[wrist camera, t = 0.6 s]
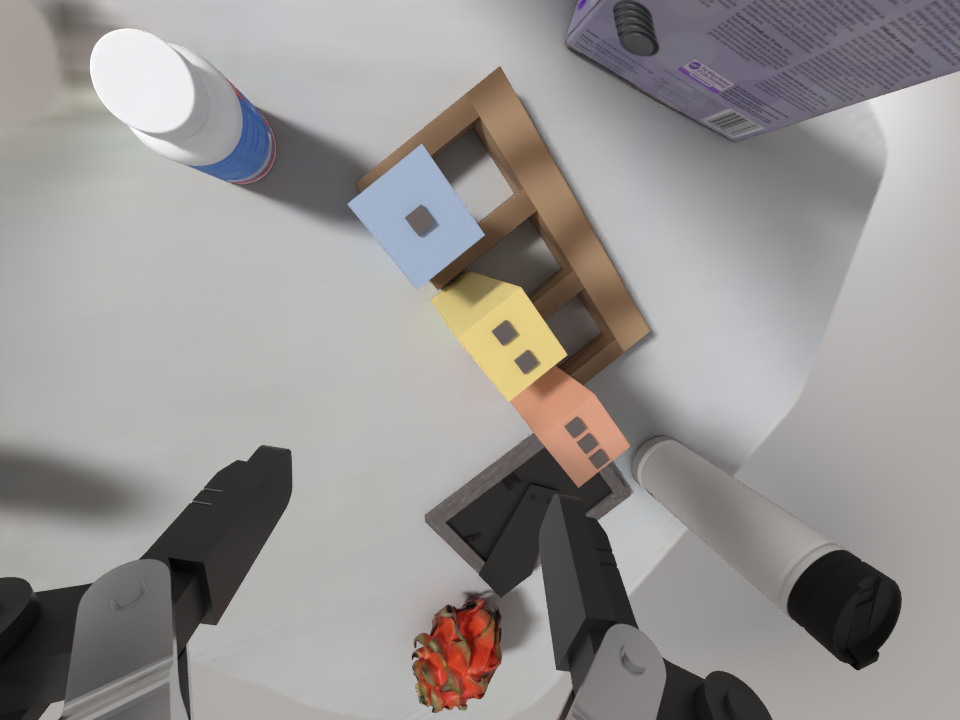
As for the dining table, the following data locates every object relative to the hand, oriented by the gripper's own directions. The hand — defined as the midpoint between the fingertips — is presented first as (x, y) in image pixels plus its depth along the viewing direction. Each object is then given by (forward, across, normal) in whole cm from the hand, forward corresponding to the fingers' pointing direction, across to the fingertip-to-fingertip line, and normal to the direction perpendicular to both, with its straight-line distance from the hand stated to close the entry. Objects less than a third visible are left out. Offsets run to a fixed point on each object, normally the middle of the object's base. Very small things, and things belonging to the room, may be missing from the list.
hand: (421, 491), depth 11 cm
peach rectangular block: (+22, -6, +7) cm, 24 cm away
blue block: (+22, +5, -4) cm, 23 cm away
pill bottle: (+21, +17, -7) cm, 28 cm away
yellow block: (+22, 0, +2) cm, 23 cm away
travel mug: (+24, -24, +16) cm, 38 cm away
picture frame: (+21, -11, +21) cm, 32 cm away
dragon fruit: (+16, -6, +36) cm, 40 cm away
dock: (+24, -4, -2) cm, 25 cm away
